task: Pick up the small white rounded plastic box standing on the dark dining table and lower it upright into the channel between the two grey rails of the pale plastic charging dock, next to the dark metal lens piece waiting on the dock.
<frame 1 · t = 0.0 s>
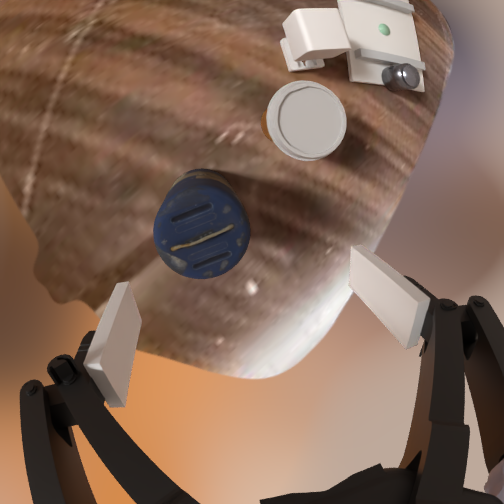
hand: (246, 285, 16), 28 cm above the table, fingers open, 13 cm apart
canister: (200, 198, 42), on the table
dock: (381, 30, 35), on the table
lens: (391, 78, 38), point 1 cm above the table, touching dock
white rounded plastic box: (299, 50, 35), on the table
disposable coffee cup: (281, 123, 40), on the table
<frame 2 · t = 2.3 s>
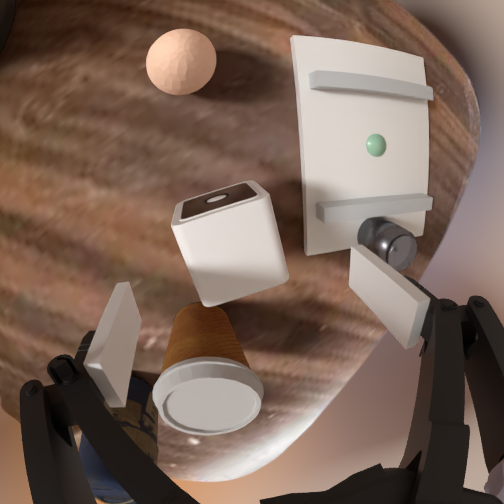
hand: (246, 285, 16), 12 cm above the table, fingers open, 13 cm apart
egg: (183, 73, 21), on the table
canister: (126, 389, 34), on the table
dock: (370, 144, 27), on the table
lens: (373, 233, 30), point 1 cm above the table, touching dock
white rounded plastic box: (222, 216, 27), on the table
disposable coffee cup: (201, 323, 32), on the table
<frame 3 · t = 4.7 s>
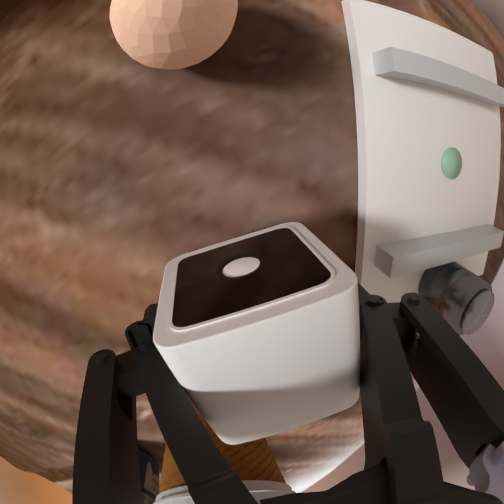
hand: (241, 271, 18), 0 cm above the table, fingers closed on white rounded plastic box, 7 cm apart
egg: (179, 40, 12), on the table
canister: (120, 452, 25), on the table
dock: (442, 160, 18), on the table
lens: (436, 279, 21), point 1 cm above the table, touching dock
white rounded plastic box: (239, 266, 18), on the table, touching gripper
disposable coffee cup: (209, 396, 22), on the table
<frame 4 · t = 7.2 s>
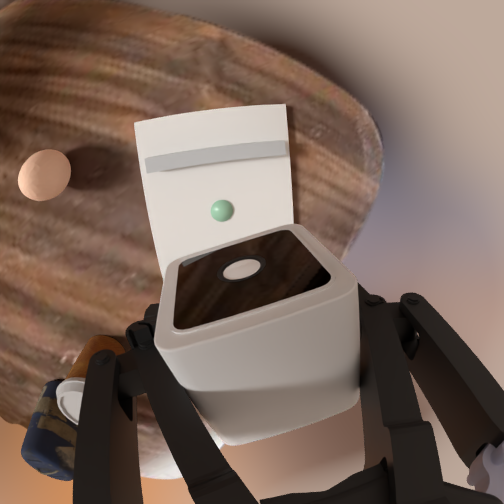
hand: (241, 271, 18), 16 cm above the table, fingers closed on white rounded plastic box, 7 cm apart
egg: (61, 169, 27), on the table
canister: (67, 393, 39), on the table
dock: (220, 208, 32), on the table
white rounded plastic box: (240, 267, 18), point 15 cm above the table, touching gripper
disposable coffee cup: (106, 350, 37), on the table
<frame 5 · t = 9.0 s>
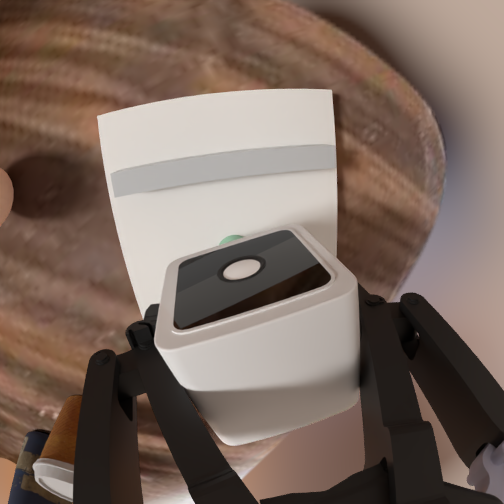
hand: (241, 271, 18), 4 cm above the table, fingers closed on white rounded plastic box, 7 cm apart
egg: (6, 189, 16), on the table
canister: (53, 442, 29), on the table
dock: (232, 245, 22), on the table
white rounded plastic box: (240, 268, 18), point 4 cm above the table, touching gripper
disposable coffee cup: (89, 409, 27), on the table
when the fingers open (3 cm above the table, at t = 10.1 s): white rounded plastic box drops 1 cm, resting on dock.
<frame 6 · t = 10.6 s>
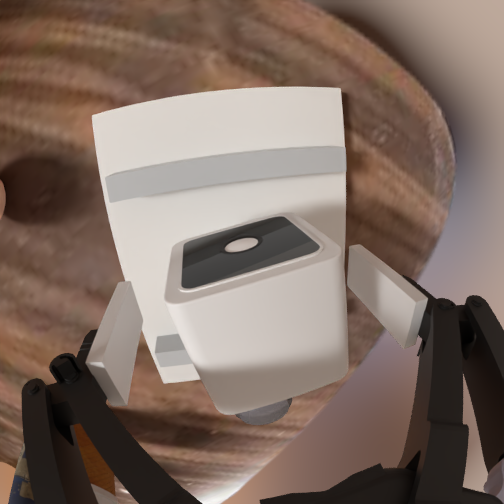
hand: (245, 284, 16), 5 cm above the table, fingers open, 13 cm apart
canister: (51, 448, 28), on the table
dock: (235, 252, 21), on the table
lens: (251, 361, 24), point 1 cm above the table, touching dock
white rounded plastic box: (236, 257, 20), point 1 cm above the table, touching dock
disposable coffee cup: (88, 417, 25), on the table
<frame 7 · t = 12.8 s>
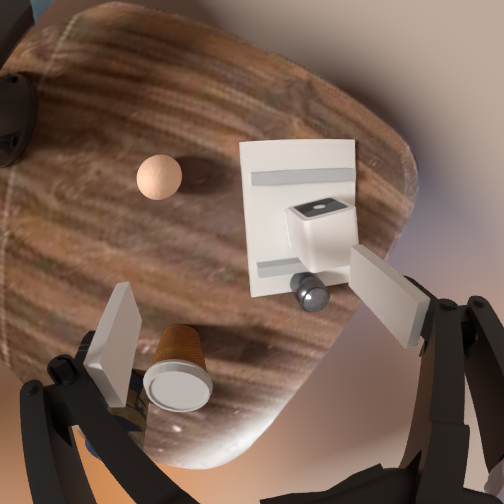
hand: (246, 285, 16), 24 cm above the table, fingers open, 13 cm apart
egg: (164, 173, 36), on the table
canister: (127, 383, 47), on the table
dock: (301, 217, 40), on the table
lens: (303, 282, 43), point 1 cm above the table, touching dock
white rounded plastic box: (303, 219, 39), point 1 cm above the table, touching dock
disposable coffee cup: (180, 338, 45), on the table
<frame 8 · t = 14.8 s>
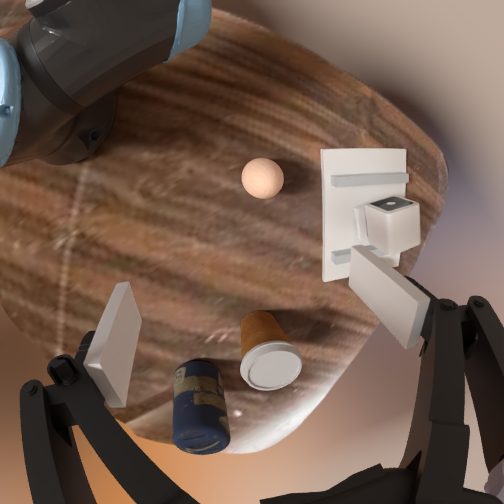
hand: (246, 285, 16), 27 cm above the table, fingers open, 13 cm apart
egg: (256, 174, 41), on the table
canister: (197, 373, 53), on the table
dock: (365, 213, 46), on the table
white rounded plastic box: (368, 214, 45), point 1 cm above the table, touching dock
disposable coffee cup: (257, 324, 51), on the table
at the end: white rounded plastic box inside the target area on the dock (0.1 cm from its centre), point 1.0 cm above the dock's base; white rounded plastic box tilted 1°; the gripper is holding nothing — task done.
